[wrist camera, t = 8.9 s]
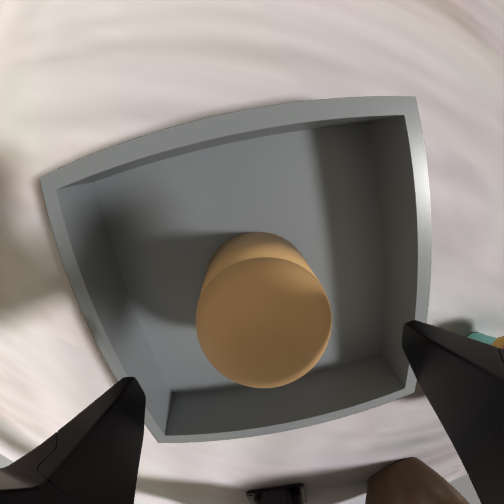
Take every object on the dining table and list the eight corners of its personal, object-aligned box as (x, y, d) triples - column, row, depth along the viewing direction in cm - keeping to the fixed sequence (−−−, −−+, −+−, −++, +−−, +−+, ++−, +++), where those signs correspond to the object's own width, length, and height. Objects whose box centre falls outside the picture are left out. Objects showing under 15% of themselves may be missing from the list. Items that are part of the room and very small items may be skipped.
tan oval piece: (312, 314, 16) (350, 397, 10) (219, 333, 16) (212, 423, 10) (300, 222, 14) (347, 269, 8) (194, 243, 14) (162, 306, 8)
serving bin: (386, 352, 18) (414, 392, 14) (169, 395, 18) (158, 442, 14) (371, 110, 13) (415, 96, 9) (86, 171, 14) (39, 177, 9)
